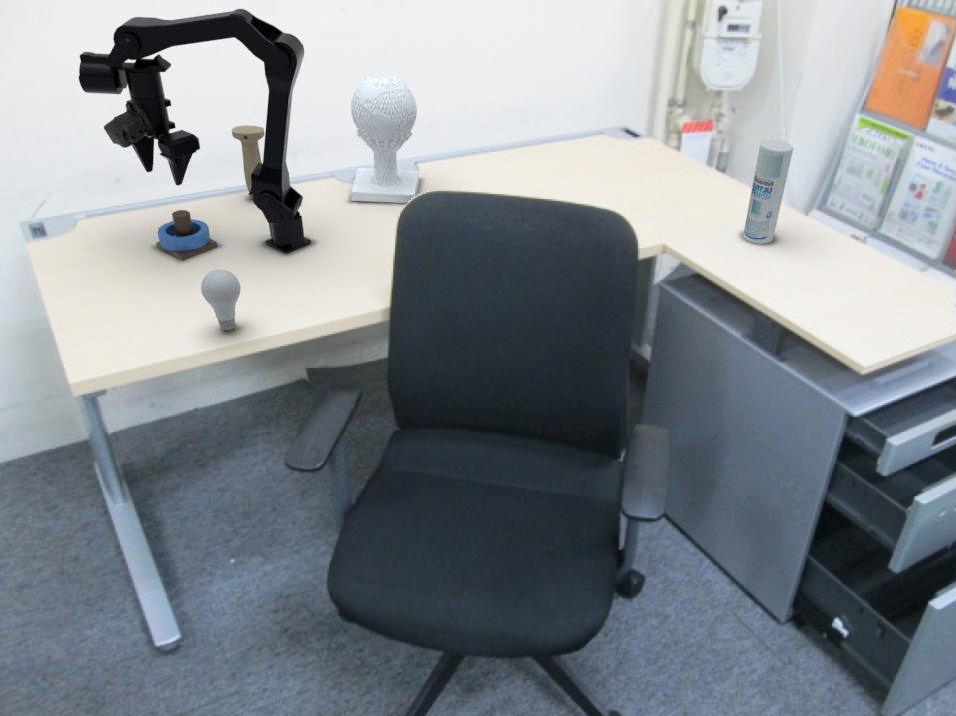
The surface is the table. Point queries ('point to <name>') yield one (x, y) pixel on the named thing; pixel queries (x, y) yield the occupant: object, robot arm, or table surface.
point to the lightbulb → (222, 296)
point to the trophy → (384, 139)
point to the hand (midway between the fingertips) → (164, 178)
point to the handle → (249, 149)
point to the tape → (187, 242)
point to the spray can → (767, 190)
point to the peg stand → (185, 229)
